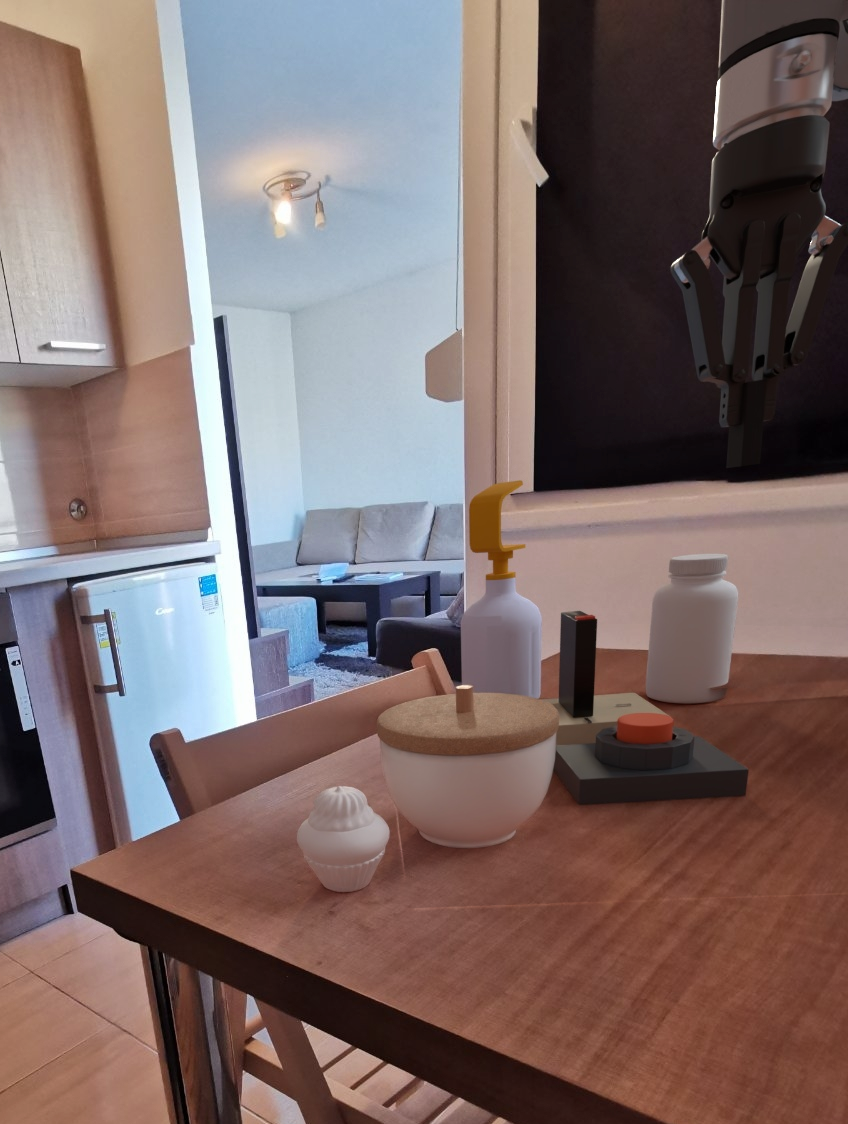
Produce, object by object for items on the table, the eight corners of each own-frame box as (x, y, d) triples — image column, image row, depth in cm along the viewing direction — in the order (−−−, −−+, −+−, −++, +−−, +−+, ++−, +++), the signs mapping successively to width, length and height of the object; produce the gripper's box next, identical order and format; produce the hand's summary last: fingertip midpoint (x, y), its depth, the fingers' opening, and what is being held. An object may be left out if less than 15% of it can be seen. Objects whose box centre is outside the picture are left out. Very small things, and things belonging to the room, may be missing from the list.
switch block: (697, 760, 66) (701, 715, 65) (745, 796, 58) (751, 746, 56) (551, 769, 68) (552, 726, 67) (579, 805, 60) (580, 757, 58)
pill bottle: (725, 706, 79) (741, 557, 74) (640, 704, 84) (649, 563, 79) (729, 688, 85) (744, 549, 80) (649, 687, 90) (659, 555, 85)
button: (661, 731, 63) (662, 710, 62) (680, 745, 59) (681, 723, 59) (610, 734, 64) (611, 714, 63) (625, 748, 60) (626, 727, 59)
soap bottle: (556, 695, 91) (561, 475, 83) (506, 713, 87) (507, 481, 78) (495, 687, 98) (494, 483, 90) (446, 703, 94) (440, 490, 85)
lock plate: (632, 720, 79) (634, 690, 78) (669, 749, 69) (672, 715, 68) (492, 730, 81) (492, 701, 80) (510, 759, 72) (510, 727, 70)
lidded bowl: (366, 859, 55) (356, 711, 51) (400, 797, 66) (393, 671, 62) (554, 870, 50) (558, 707, 46) (557, 801, 61) (561, 664, 57)
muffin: (304, 907, 49) (294, 807, 47) (298, 867, 55) (289, 776, 53) (400, 898, 49) (395, 796, 47) (383, 858, 55) (378, 766, 52)
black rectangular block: (558, 702, 77) (560, 609, 74) (577, 701, 77) (580, 607, 74) (573, 717, 71) (576, 618, 68) (593, 716, 71) (597, 616, 68)
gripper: (700, 130, 56) (680, 475, 64) (897, 90, 54) (851, 451, 62) (660, 172, 63) (647, 478, 71) (833, 138, 61) (799, 457, 69)
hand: (742, 465), depth 66 cm, fingers closed
